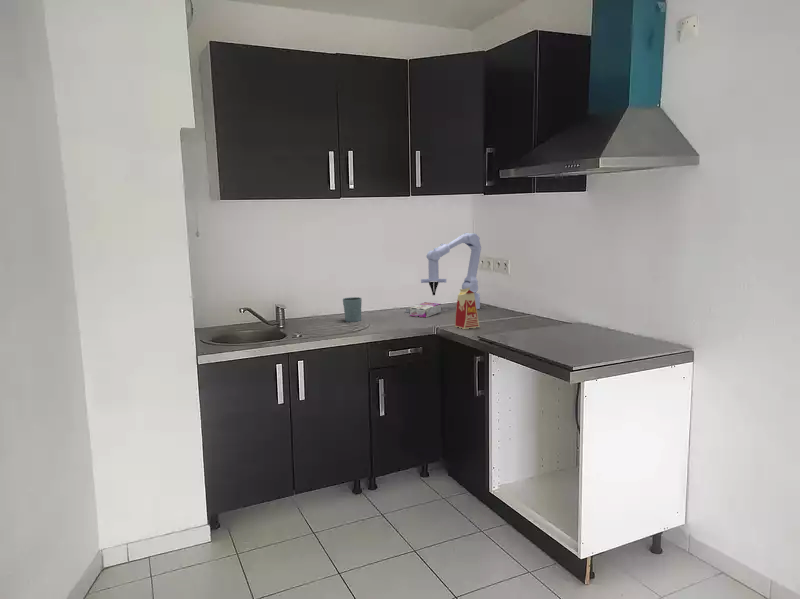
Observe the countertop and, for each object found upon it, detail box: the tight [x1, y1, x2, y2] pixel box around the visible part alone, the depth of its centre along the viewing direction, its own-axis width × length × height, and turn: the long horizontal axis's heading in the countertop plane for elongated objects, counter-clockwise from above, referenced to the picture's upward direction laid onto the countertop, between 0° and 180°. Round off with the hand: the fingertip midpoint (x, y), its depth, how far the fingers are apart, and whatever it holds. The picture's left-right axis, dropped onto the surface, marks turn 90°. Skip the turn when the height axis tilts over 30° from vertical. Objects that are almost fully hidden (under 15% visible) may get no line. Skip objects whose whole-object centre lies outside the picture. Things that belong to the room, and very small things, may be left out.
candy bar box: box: [408, 301, 442, 318], centre depth 327 cm, size 11×5×16 cm
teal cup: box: [342, 296, 362, 323], centre depth 314 cm, size 10×10×12 cm
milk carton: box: [454, 288, 480, 330], centre depth 288 cm, size 9×9×20 cm
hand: (433, 295), depth 337 cm, fingers closed
